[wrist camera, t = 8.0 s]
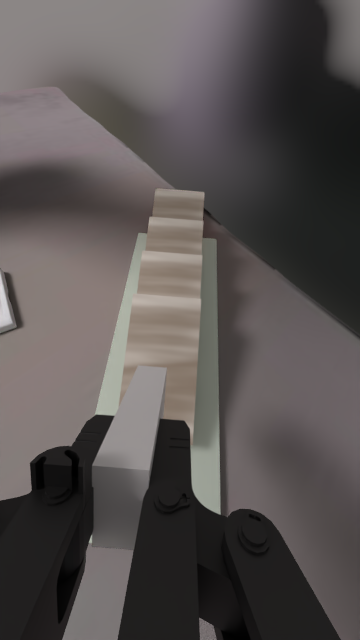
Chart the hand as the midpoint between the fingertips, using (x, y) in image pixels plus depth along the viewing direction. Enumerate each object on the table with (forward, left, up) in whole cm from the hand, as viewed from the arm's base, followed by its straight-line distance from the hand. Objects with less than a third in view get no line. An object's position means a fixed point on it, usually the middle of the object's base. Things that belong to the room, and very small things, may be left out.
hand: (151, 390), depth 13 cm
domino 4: (+1, -1, -7) cm, 8 cm away
